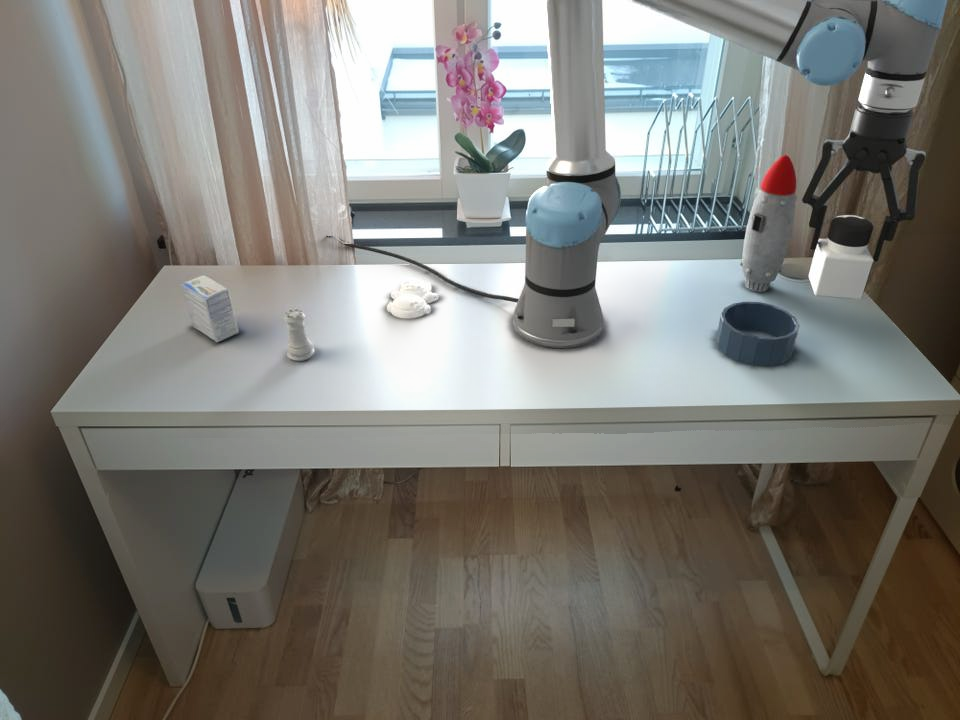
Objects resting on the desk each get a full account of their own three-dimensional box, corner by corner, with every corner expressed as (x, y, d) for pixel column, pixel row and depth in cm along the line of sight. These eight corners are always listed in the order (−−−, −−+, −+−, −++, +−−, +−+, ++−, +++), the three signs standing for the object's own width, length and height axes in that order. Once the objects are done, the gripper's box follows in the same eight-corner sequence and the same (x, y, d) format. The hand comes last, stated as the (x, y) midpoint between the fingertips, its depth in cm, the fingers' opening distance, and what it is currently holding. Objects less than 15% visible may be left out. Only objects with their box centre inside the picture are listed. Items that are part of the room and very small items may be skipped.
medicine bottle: (862, 300, 118) (884, 230, 111) (814, 296, 119) (833, 227, 112) (852, 280, 124) (872, 212, 117) (807, 276, 125) (825, 209, 118)
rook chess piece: (291, 365, 118) (283, 322, 113) (283, 351, 121) (275, 309, 117) (318, 357, 120) (311, 314, 115) (310, 344, 123) (303, 302, 118)
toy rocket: (724, 285, 139) (750, 154, 125) (752, 273, 143) (780, 144, 129) (759, 301, 134) (790, 166, 120) (786, 288, 138) (819, 156, 124)
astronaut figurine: (444, 290, 139) (444, 276, 137) (425, 322, 129) (424, 307, 128) (400, 285, 141) (399, 271, 139) (378, 316, 131) (376, 301, 130)
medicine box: (239, 333, 126) (229, 288, 121) (216, 344, 123) (205, 298, 119) (215, 317, 131) (204, 273, 126) (192, 327, 128) (180, 282, 123)
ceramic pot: (708, 354, 119) (713, 327, 117) (725, 321, 128) (731, 295, 125) (784, 373, 115) (791, 346, 112) (797, 338, 123) (804, 311, 120)
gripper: (802, 103, 107) (770, 248, 119) (971, 122, 98) (917, 275, 111) (811, 92, 112) (779, 231, 125) (971, 108, 104) (920, 256, 116)
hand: (844, 252), depth 118 cm, fingers closed on medicine bottle, 8 cm apart
